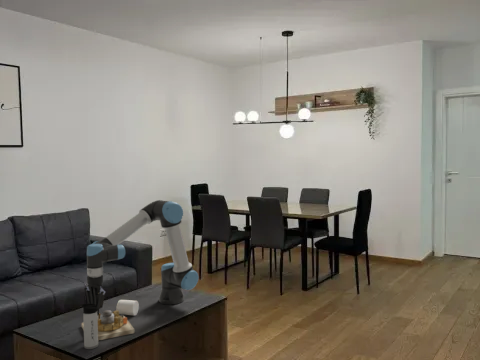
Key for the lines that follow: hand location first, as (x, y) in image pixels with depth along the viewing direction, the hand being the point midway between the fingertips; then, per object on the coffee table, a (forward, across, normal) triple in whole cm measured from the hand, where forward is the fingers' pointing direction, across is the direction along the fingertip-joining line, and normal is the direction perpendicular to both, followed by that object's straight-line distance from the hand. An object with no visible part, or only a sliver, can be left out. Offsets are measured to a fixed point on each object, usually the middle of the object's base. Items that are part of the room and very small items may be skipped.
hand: (95, 321), depth 220 cm
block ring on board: (+6, +2, +6) cm, 9 cm away
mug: (+7, -5, +30) cm, 31 cm away
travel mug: (+7, +9, -11) cm, 16 cm away
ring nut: (+4, +2, +7) cm, 9 cm away
